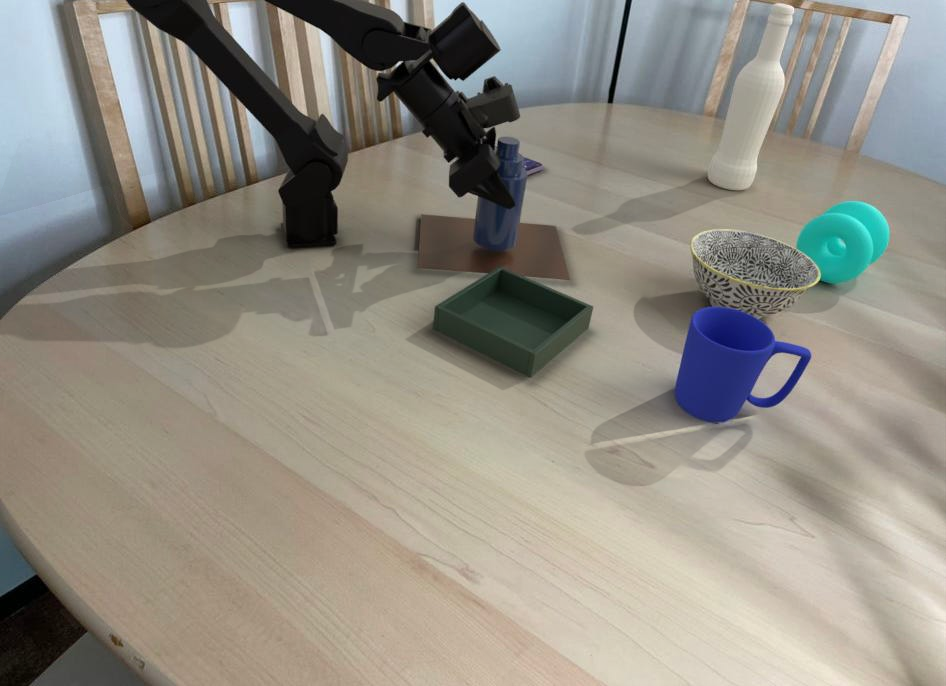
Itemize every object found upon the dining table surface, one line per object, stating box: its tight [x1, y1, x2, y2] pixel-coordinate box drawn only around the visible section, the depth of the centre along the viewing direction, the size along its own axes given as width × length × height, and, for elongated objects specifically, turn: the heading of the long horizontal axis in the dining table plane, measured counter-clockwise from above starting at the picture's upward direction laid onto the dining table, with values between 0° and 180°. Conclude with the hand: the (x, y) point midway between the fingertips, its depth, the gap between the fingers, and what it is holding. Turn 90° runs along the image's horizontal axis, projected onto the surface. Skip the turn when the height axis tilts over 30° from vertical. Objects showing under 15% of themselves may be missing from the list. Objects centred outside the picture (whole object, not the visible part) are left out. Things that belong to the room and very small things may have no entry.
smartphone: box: [495, 145, 544, 176], centre depth 131 cm, size 7×1×15 cm
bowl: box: [689, 228, 821, 320], centre depth 95 cm, size 16×16×8 cm
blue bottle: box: [473, 136, 529, 250], centre depth 98 cm, size 6×6×14 cm
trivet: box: [417, 213, 571, 281], centre depth 103 cm, size 20×16×1 cm
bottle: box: [707, 2, 795, 192], centre depth 126 cm, size 8×8×30 cm
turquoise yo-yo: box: [795, 200, 890, 284], centre depth 106 cm, size 10×10×10 cm
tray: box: [432, 266, 594, 378], centre depth 86 cm, size 13×13×4 cm
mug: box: [674, 306, 812, 424], centre depth 76 cm, size 8×12×10 cm
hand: (511, 196), depth 98 cm, fingers closed on blue bottle, 6 cm apart
